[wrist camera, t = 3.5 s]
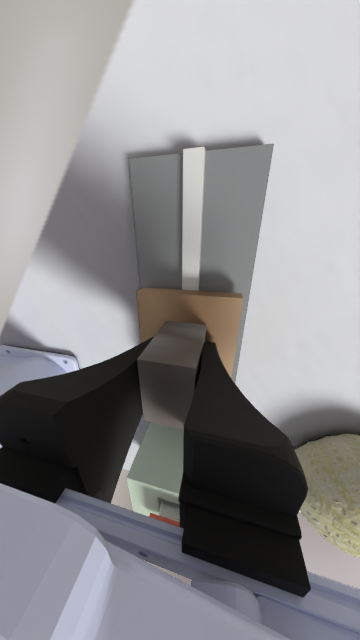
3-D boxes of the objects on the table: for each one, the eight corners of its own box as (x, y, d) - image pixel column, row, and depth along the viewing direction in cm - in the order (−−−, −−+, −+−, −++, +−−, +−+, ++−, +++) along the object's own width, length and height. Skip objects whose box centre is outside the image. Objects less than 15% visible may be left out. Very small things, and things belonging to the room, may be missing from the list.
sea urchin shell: (504, 494, 11) (524, 692, 8) (361, 445, 18) (350, 541, 16) (364, 422, 11) (344, 594, 9) (280, 402, 19) (256, 491, 16)
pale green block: (153, 456, 21) (134, 514, 16) (150, 421, 19) (126, 477, 14) (223, 475, 19) (223, 546, 15) (230, 439, 17) (231, 510, 12)
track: (154, 408, 18) (149, 418, 17) (135, 164, 10) (124, 155, 9) (227, 423, 16) (227, 436, 15) (269, 151, 9) (276, 139, 8)
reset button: (159, 507, 16) (150, 543, 14) (157, 486, 15) (147, 523, 13) (197, 519, 15) (193, 560, 13) (199, 498, 14) (194, 540, 12)
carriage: (150, 374, 14) (115, 435, 10) (143, 287, 11) (89, 316, 7) (228, 387, 13) (229, 464, 8) (241, 293, 10) (253, 333, 6)
